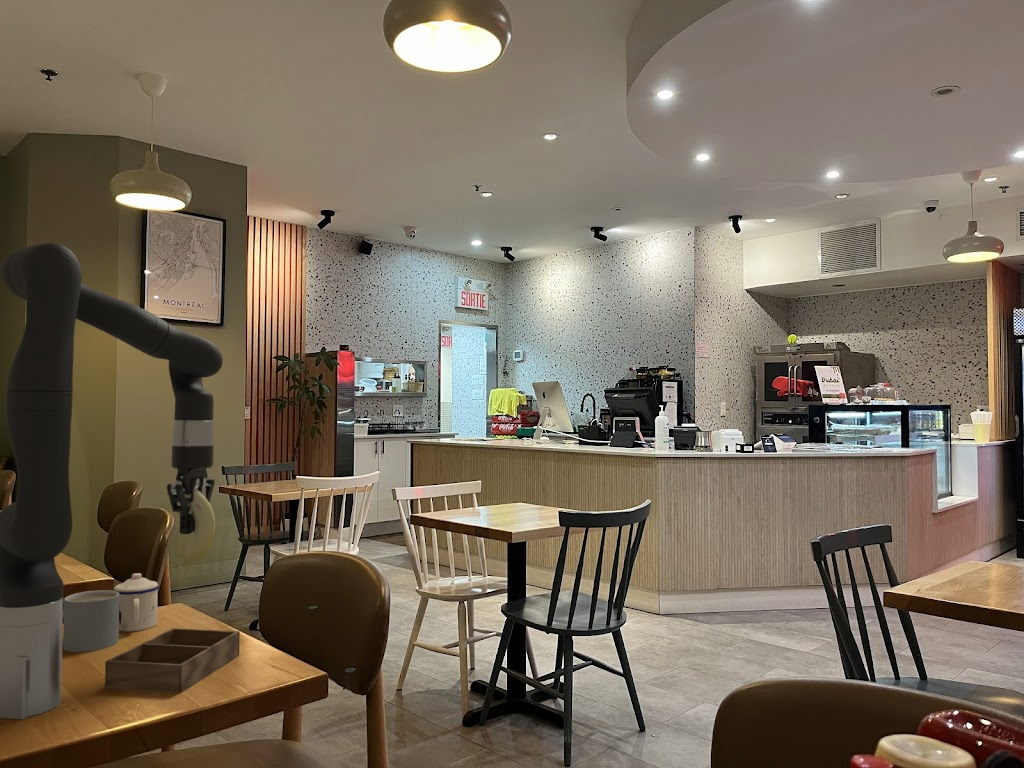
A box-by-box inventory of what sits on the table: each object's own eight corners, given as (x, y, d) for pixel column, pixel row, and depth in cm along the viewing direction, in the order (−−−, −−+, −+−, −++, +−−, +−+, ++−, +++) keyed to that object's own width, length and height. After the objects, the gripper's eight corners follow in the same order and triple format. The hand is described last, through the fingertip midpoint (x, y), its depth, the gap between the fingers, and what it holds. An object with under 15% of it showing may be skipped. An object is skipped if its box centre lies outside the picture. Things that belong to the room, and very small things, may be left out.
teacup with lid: (113, 623, 170) (114, 571, 171) (157, 618, 174) (158, 568, 175) (111, 638, 160) (112, 583, 160) (158, 632, 164) (159, 578, 164)
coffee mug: (121, 646, 154) (122, 597, 154) (65, 655, 148) (66, 604, 149) (112, 630, 165) (113, 584, 165) (59, 638, 159) (60, 591, 160)
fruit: (221, 557, 146) (225, 553, 149) (203, 481, 145) (207, 479, 149) (183, 566, 145) (187, 563, 148) (165, 490, 144) (170, 488, 148)
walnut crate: (181, 695, 128) (181, 665, 128) (104, 690, 130) (105, 661, 130) (239, 657, 148) (239, 631, 148) (171, 653, 150) (172, 628, 150)
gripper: (191, 445, 140) (188, 538, 139) (228, 442, 154) (226, 528, 153) (154, 444, 141) (150, 537, 140) (194, 442, 155) (191, 527, 154)
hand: (190, 532), depth 147 cm, fingers closed on fruit, 2 cm apart
